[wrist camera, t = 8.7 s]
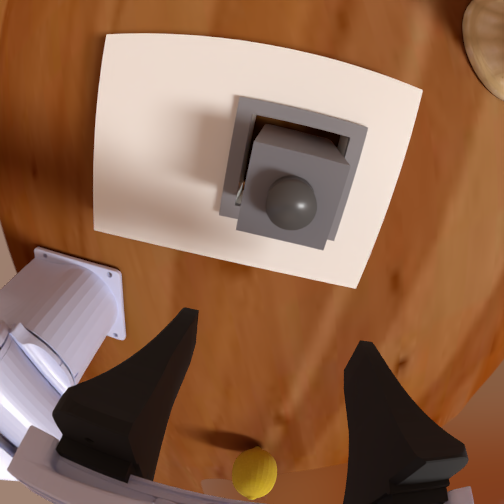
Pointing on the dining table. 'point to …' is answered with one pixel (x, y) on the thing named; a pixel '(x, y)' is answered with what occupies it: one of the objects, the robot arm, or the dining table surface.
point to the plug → (292, 187)
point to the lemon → (254, 473)
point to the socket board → (238, 145)
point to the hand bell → (486, 42)
